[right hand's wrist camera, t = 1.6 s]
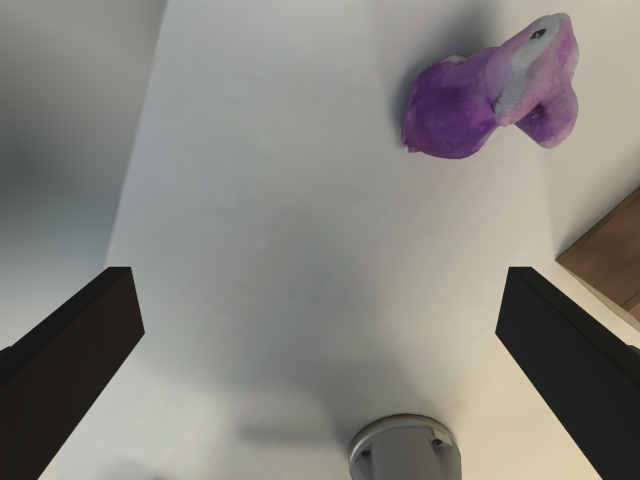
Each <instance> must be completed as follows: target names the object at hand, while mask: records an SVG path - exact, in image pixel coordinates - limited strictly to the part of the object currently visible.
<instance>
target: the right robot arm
mask: <svg viewBox="0 0 640 480" xmlns="http://www.w3.org/2000/svg"><path fill="white" fill-rule="evenodd" d="M144 334H145V331H144V326H143V322H142V317H141V312H140V308H139V303H138V298H137V293H136V289H135V284H134V279H133V274H132V270H131V267H108V268H107V269H105V270H104V271H103V272H102V273H101V274H99V275H98V276H97V277H96V278H95V279H93V280H92V281H91V282H90V283H88V284H87V285H86V286H85V287H83V288H82V289H81V290H80V291H79V292H77V293H76V294H75V295H74V296H72V297H71V298H70V299H69V300H67V301H66V302H65V303H64V304H63V305H61V306H60V307H59V308H58V309H56V310H55V311H54V312H53V313H52V314H50V315H49V316H48V317H47V318H45V319H44V320H43V321H42V322H41V323H39V324H38V325H37V326H36V327H34V328H33V329H32V330H31V331H29V332H28V333H27V334H26V335H25V336H23V337H22V338H21V339H20V340H19V341H17V342H16V343H15V344H14V345H12V346H8V347H6V348H5V349H3V350H1V351H0V480H38V478H39V477H40V475H41V474H42V473H43V471H44V470H45V469H46V467H47V466H48V465H49V463H50V462H51V460H52V459H53V458H54V456H55V455H56V454H57V452H58V451H59V450H60V448H61V447H62V445H63V444H64V443H65V441H66V440H67V439H68V437H69V436H70V435H71V433H72V432H73V430H74V429H75V428H76V426H77V425H78V424H79V422H80V421H81V420H82V418H83V417H84V416H85V414H86V413H87V411H88V410H89V409H90V407H91V406H92V405H93V403H94V402H95V401H96V399H97V398H98V396H99V395H100V394H101V392H102V391H103V390H104V388H105V387H106V386H107V384H108V383H109V381H110V380H111V379H112V377H113V376H114V375H115V373H116V372H117V371H118V369H119V368H120V366H121V365H122V364H123V362H124V361H125V360H126V358H127V357H128V356H129V354H130V353H131V351H132V350H133V349H134V347H135V346H136V345H137V343H138V342H139V341H140V339H141V338H142V336H143V335H144ZM495 334H496V335H497V336H498V338H499V339H500V341H501V342H502V343H503V345H504V346H505V347H506V349H507V350H508V351H509V353H510V354H511V356H512V357H513V358H514V360H515V361H516V362H517V364H518V365H519V366H520V368H521V369H522V371H523V372H524V373H525V375H526V376H527V377H528V379H529V380H530V381H531V383H532V384H533V386H534V387H535V388H536V390H537V391H538V392H539V394H540V395H541V396H542V398H543V399H544V401H545V402H546V403H547V405H548V406H549V407H550V409H551V410H552V411H553V413H554V414H555V416H556V417H557V418H558V420H559V421H560V422H561V424H562V425H563V426H564V428H565V429H566V430H567V432H568V433H569V435H570V436H571V437H572V439H573V440H574V441H575V443H576V444H577V445H578V447H579V448H580V450H581V451H582V452H583V454H584V455H585V456H586V458H587V459H588V460H589V462H590V463H591V465H592V466H593V467H594V469H595V470H596V471H597V473H598V474H599V475H600V477H601V478H602V480H640V349H638V348H636V347H635V346H633V345H626V344H625V343H624V342H623V341H622V340H620V339H619V338H618V337H617V336H615V335H614V334H613V333H612V332H611V331H609V330H608V329H607V328H606V327H604V326H603V325H602V324H601V323H599V322H598V321H597V320H596V319H595V318H593V317H592V316H591V315H590V314H588V313H587V312H586V311H585V310H584V309H582V308H581V307H580V306H579V305H577V304H576V303H575V302H574V301H573V300H571V299H570V298H569V297H568V296H566V295H565V294H564V293H563V292H561V291H560V290H559V289H558V288H557V287H555V286H554V285H553V284H552V283H550V282H549V281H548V280H547V279H546V278H544V277H543V276H542V275H541V274H539V273H538V272H537V271H536V270H535V269H533V268H532V267H509V270H508V274H507V279H506V284H505V289H504V293H503V298H502V303H501V308H500V312H499V317H498V322H497V326H496V331H495ZM349 468H350V475H351V478H352V480H462V473H461V456H460V452H459V450H458V447H457V444H456V442H455V439H454V437H453V436H452V434H451V433H450V432H449V430H448V429H447V428H445V427H444V426H443V425H441V424H440V423H438V422H436V421H434V420H432V419H429V418H426V417H422V416H415V415H399V416H393V417H388V418H385V419H382V420H379V421H377V422H374V423H373V424H371V425H369V426H367V427H366V428H365V429H363V430H362V431H361V432H360V433H359V434H358V435H357V436H356V437H355V439H354V440H353V442H352V444H351V447H350V450H349Z"/></svg>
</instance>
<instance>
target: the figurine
mask: <svg viewBox="0 0 640 480" xmlns="http://www.w3.org/2000/svg"><path fill="white" fill-rule="evenodd" d="M578 60H579V48H578V44H577V42H576V39H575V36H574V33H573V29H572V23H571V19H570V17H569V16H568V15H567V14H565V13H557V14H554V15H547V16H543V17H540V18H538V19H537V20H535V21H534V22H533V23H531V24H530V25H529V26H527V27H526V28H525V29H523V30H522V31H521V32H519V33H518V34H516V35H515V36H513V37H512V38H510V39H509V40H507V41H506V42H505V43H503V44H502V45H501V46H500V47H493V48H487V49H483V50H481V51H479V52H477V53H475V54H473V55H470V56H468V57H462V56H459V55H451V56H449V57H447V58H445V59H443V60H441V61H439V62H437V63H436V64H434V65H432V66H431V67H429V68H427V69H426V70H425V71H423V72H422V73H421V74H420V75H419V76H418V77H417V78H415V79H414V81H413V83H412V84H411V86H410V88H409V101H408V104H407V107H406V110H405V114H404V118H403V126H402V135H401V144H402V148H403V151H404V152H406V153H415V152H419V151H421V152H423V153H425V154H428V155H431V156H435V157H440V158H447V159H462V158H466V157H468V156H470V155H472V154H474V153H475V152H477V151H478V150H479V149H480V148H481V147H482V146H483V145H484V143H485V142H486V141H487V139H488V138H489V137H490V135H491V134H492V133H493V132H494V131H495V130H496V128H497V127H498V126H499V125H500V126H507V125H508V124H515V125H516V126H517V127H518V128H520V129H521V130H522V131H523V132H524V133H526V134H527V135H528V136H529V137H530V138H532V139H533V140H534V141H535V142H536V143H538V144H539V145H540V146H541V147H544V148H548V149H551V148H553V147H556V146H557V145H558V144H560V143H561V142H562V141H563V140H565V139H566V137H567V136H568V135H570V133H571V131H572V129H573V127H574V125H575V123H576V118H577V113H578V102H577V98H576V95H575V93H574V90H573V88H572V85H571V81H572V78H573V75H574V70H575V68H576V66H577V63H578Z"/></svg>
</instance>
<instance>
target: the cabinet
mask: <svg viewBox="0 0 640 480" xmlns="http://www.w3.org/2000/svg"><path fill="white" fill-rule="evenodd" d="M555 261H556V262H557V263H559V264H560V265H561V266H562V267H563V268H564V269H565V270H566V271H568V272H569V273H570V274H571V275H572V276H573V277H574V278H575V279H577V280H578V281H579V282H580V283H581V284H582V285H583V286H584V287H586V288H587V289H588V290H589V291H590V292H591V293H592V294H593V295H594V296H596V297H597V298H598V299H599V300H600V301H601V302H602V303H603V304H605V305H606V306H607V307H608V308H609V309H610V310H611V311H612V312H614V313H615V314H616V315H617V316H619V317H620V318H621V319H623V320H624V321H625V322H627V323H628V324H629V325H631V326H632V327H633V328H635V329H636V330H637V331H639V332H640V187H639V188H637V189H636V190H635V191H634V192H633V193H632V194H631V195H629V196H628V197H627V198H626V199H625V200H624V201H623V202H621V203H620V204H619V205H618V206H617V207H616V208H615V209H613V210H612V211H611V212H610V213H609V214H608V215H607V216H605V217H604V218H603V219H602V220H601V221H600V222H599V223H597V224H596V225H595V226H594V227H593V228H592V229H591V230H589V231H588V232H587V233H586V234H585V235H584V236H583V237H581V238H580V239H579V240H578V241H577V242H576V243H575V244H573V245H572V246H571V247H570V248H569V249H568V250H567V251H565V252H564V253H563V254H562V255H561V256H560V257H559V258H557V259H556V260H555Z"/></svg>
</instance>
